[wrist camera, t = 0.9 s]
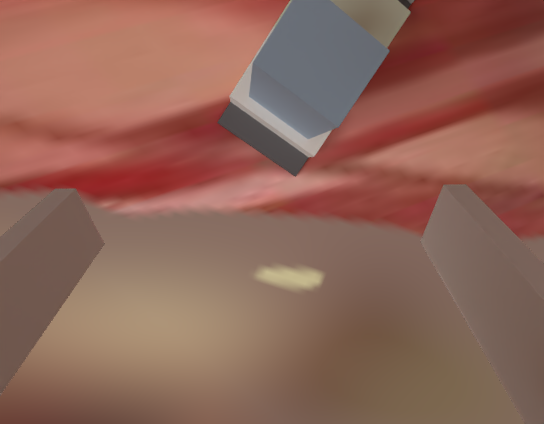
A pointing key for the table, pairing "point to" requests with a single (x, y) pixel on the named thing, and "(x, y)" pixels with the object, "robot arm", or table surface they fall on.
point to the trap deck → (277, 134)
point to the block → (314, 66)
